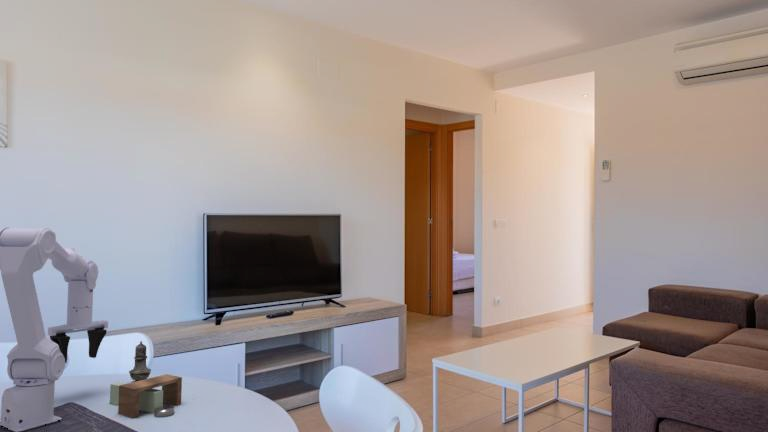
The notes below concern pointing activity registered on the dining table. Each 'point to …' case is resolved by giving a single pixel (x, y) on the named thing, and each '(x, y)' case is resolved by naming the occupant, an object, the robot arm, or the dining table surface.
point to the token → (164, 411)
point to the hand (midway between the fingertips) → (78, 360)
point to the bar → (140, 398)
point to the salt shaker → (140, 364)
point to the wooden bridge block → (130, 391)
